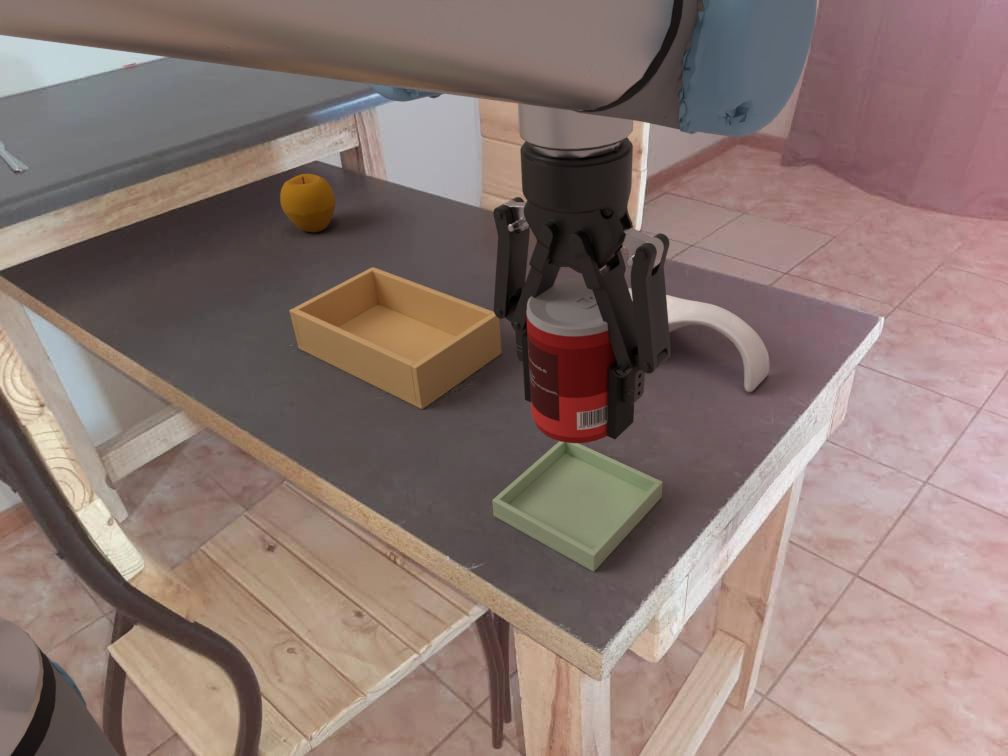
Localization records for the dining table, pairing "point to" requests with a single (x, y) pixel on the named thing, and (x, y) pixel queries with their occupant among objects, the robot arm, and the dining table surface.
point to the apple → (308, 202)
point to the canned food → (569, 363)
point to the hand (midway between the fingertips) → (577, 410)
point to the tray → (578, 502)
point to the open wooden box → (398, 335)
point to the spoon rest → (728, 325)
